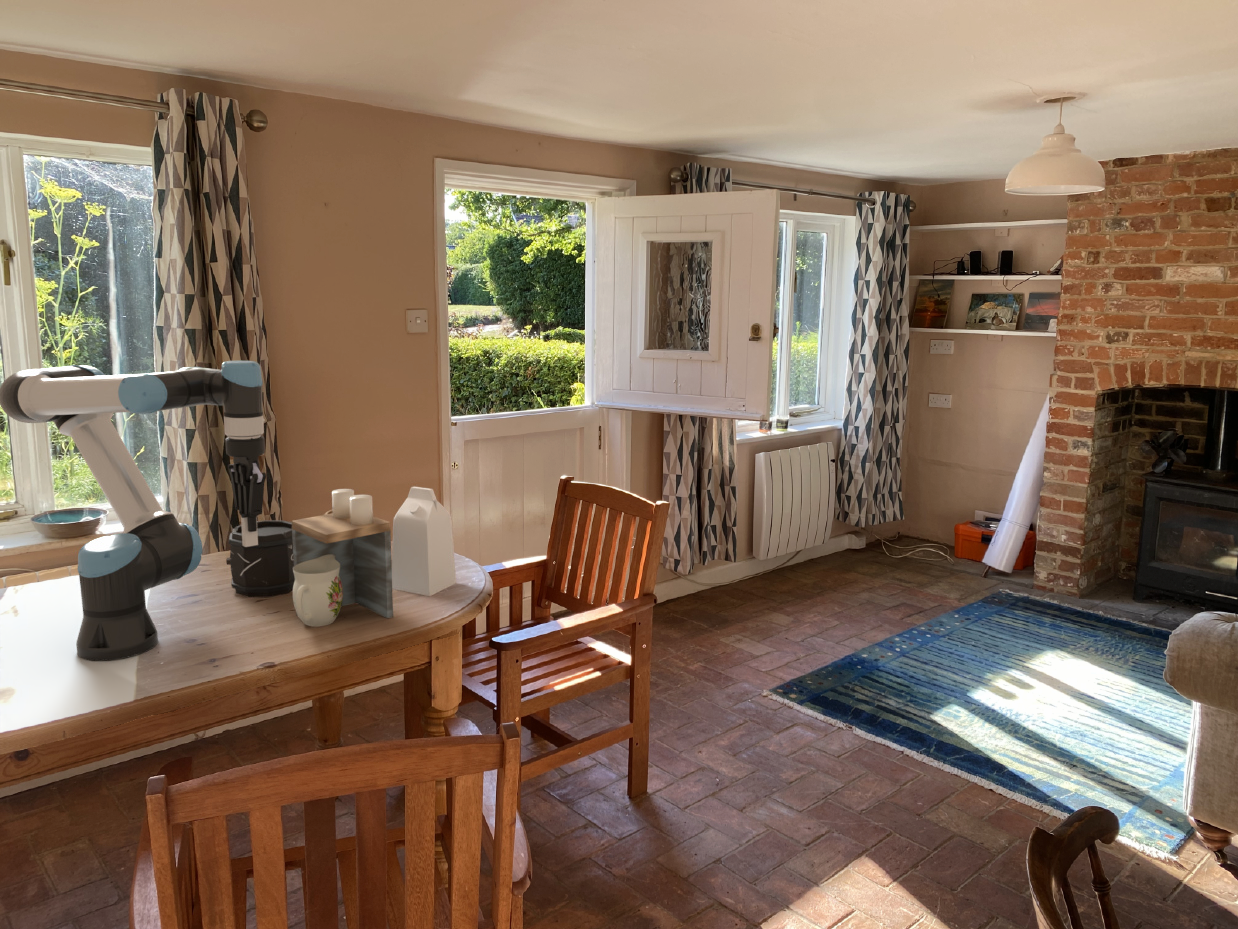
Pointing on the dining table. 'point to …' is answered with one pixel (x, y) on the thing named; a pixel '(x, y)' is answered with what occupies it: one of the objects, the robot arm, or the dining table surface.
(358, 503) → the white ceramic cup
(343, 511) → the white ceramic cylinder
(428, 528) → the milk
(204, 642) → the dining table surface
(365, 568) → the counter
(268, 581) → the black octagonal canister
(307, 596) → the pitcher
